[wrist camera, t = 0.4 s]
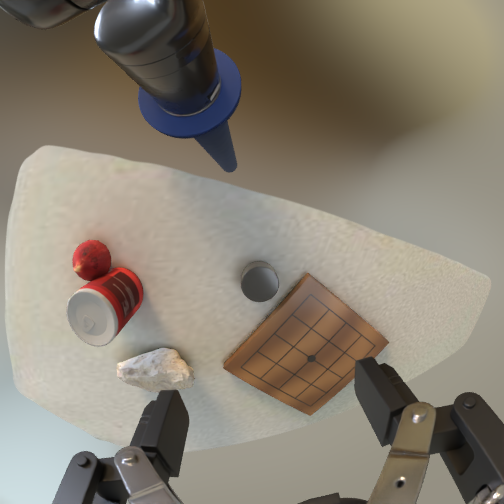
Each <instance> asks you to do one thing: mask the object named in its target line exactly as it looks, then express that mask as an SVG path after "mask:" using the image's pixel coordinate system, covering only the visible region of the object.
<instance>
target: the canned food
mask: <svg viewBox="0 0 504 504" xmlns="http://www.w3.org/2000/svg"><path fill="white" fill-rule="evenodd" d="M142 300H143V288H142V284H141V282H140V280H139V279H138V277H137V276H136V275H135V274H134V273H133V272H131V271H130V270H128V269H125V268H112V269H110V270H109V271H108V273H106V274H104V275H102V276H100V277H98V278H96V279H94V280H92V281H91V282H89V283H88V284H86V285H85V286H83V287H81V288H80V289H79V290H77V291H76V292H75V293H74V294H73V295H72V296H71V297H70V299H69V300H68V303H67V318H68V321H69V324H70V326H71V328H72V330H73V331H74V333H75V334H76V335H77V336H78V337H79V338H80V339H81V340H82V341H84V342H85V343H87V344H89V345H92V346H98V347H99V346H105V345H107V344H109V343H110V342H111V341H112V340H113V339H114V338H115V337H116V336H117V334H118V333H119V332H120V331H121V330H122V328H123V327H124V326H125V325H126V323H127V322H128V321H129V320H130V318H131V317H132V316H133V315H134V314H135V312H136V311H137V310H138V309H139V307H140V305H141V303H142Z"/></svg>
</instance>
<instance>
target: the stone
mask: <svg viewBox="0 0 504 504" xmlns="http://www.w3.org/2000/svg"><path fill="white" fill-rule="evenodd" d="M193 373H194V371H193V369H192V368H191V367H189V366H187V364H186V362H185V361H184V360H183V359H181V357H180V355H179V353H178V352H177V351H175V350H174V349H167V348H160V349H158V350H154V351H152V352H148V353H144V354H141V355H139V356H137V357H134V358H130V359H128V360H126V361H124V362H120V363H118V365H117V377H118V378H119V379H121V380H122V381H124V382H125V383H127V384H130V385H132V386H137V387H139V388H142V389H145V390H147V391H150V392H160V391H161V390H175V389H176V390H177V389H185V388H191V387H193V384H194V379H195V378H194V374H193Z"/></svg>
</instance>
